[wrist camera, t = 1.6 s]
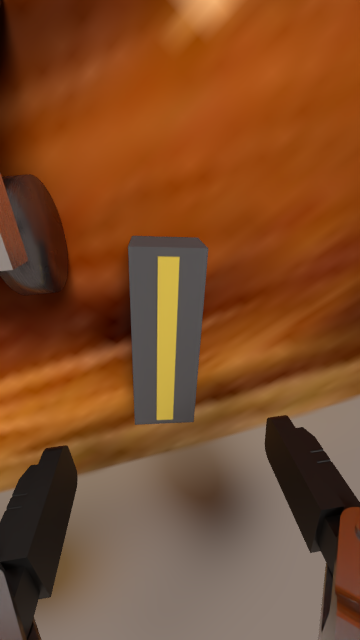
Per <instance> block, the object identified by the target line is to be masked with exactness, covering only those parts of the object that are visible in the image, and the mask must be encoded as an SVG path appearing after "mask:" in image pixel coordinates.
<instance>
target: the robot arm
mask: <svg viewBox="0 0 360 640" xmlns="http://www.w3.org/2000/svg"><path fill="white" fill-rule="evenodd" d="M265 450H266V455H267V458H268V460H269V463H270V465H271V467H272V469H273V471H274V473H275V476H276V478H277V480H278V482H279V485H280V487H281V489H282V491H283V493H284V496H285V498H286V500H287V502H288V504H289V507H290V509H291V511H292V513H293V515H294V518H295V520H296V522H297V524H298V526H299V529H300V531H301V533H302V535H303V538H304V540H305V542H306V544H307V546H308V549H309V551H310V553H312V552H317V551H321V552H322V554H323V556H324V558H325V561H326V567H325V578H324V588H323V597H322V608H321V617H320V627H319V636H318V640H360V502H359V501H358V499H357V498H356V496H355V495H354V493H353V492H352V491H351V489H350V488H349V486H348V485H347V483H346V482H345V480H344V479H343V477H342V476H341V474H340V473H339V471H338V470H337V469H336V467H335V466H334V465H333V463H332V462H331V461H330V458H329V457H328V456H327V454H326V453H325V452H324V451H323V448H322V447H321V445H320V444H319V442H318V441H317V439H316V438H315V437H314V436H313V435H312V434H311V433H309V432H308V431H307V430H306V429H304V428H303V427H301V428H295V426H294V425H293V423H292V422H291V420H290V419H289V417H288V416H286V415H284V416H277V417H270V418H268V419H267V424H266V435H265ZM76 488H77V470H76V467H75V465H74V462H73V459H72V456H71V453H70V450H69V448H68V446H66V445H65V446H58V447H51V448H46V449H45V450H44V452H43V454H42V456H41V459H40V461H39V464H38V465H31V466H30V467H29V468H28V469H27V471H26V472H25V473H24V474H23V475H22V477H21V478H20V479H19V481H18V483H17V485H16V488H15V490H14V493H13V495H12V498H11V499H10V501H9V504H8V506H7V510H6V511H5V513H4V515H3V517H2V519H1V522H0V640H41V637H40V634H39V631H38V628H37V625H36V622H35V619H34V614H35V610H36V606H37V602H38V599H42V598H49V597H51V594H52V589H53V585H54V581H55V577H56V572H57V568H58V564H59V559H60V556H61V552H62V547H63V543H64V539H65V535H66V530H67V526H68V522H69V518H70V513H71V509H72V505H73V501H74V497H75V492H76Z"/></svg>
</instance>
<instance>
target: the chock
mask: <svg viewBox="0 0 360 640" xmlns="http://www.w3.org/2000/svg"><path fill="white" fill-rule="evenodd" d="M128 255H129V281H130V307H131V333H132V359H133V386H134V412H135V425H137V424H159V423H182V422H194V411H195V399H196V387H197V375H198V363H199V351H200V340H201V328H202V316H203V304H204V292H205V280H206V269H207V257H208V248H207V247H206V246H205V245H204V244H203V243H202V242H201V241H200V240H199V239H198V238H188V237H152V236H132V238H131V240H130V243H129V246H128Z"/></svg>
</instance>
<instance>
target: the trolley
mask: <svg viewBox="0 0 360 640" xmlns="http://www.w3.org/2000/svg"><path fill="white" fill-rule="evenodd" d="M0 7H1V0H0ZM67 274H68V254H67V246H66V240H65V235H64V231H63V227H62V223H61V220H60V217H59V214H58V211H57V209H56V206H55V204H54V202H53V200H52V198H51V196H50V194H49V192H48V190H47V189H46V187H45V186H44V185H43V183H42V182H41V181H40V180H39V179H38V178H37V177H35V176H33V175H17V176H4V177H2V176H1V173H0V276H1V277H2V279H3V280H4V281H5V283H6V284H7V285H8V286H9V287H10V288H11V289H12V290H14V291H15V292H17V293H19V294H21V295H35V294H45V293H54V292H59V291H61V290H62V289H63V287H64V285H65V283H66V280H67Z"/></svg>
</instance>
